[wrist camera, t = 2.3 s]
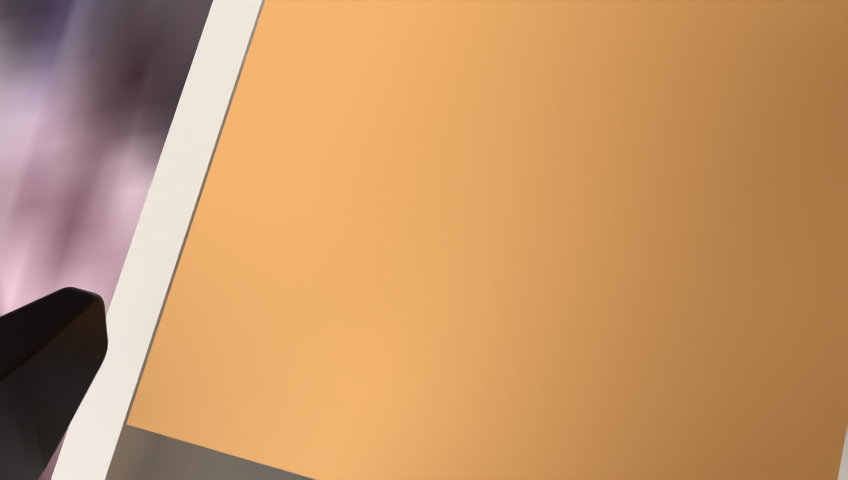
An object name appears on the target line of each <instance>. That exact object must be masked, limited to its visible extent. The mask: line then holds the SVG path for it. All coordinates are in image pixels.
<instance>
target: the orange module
mask: <svg viewBox="0 0 848 480" xmlns="http://www.w3.org/2000/svg"><path fill="white" fill-rule="evenodd" d="M127 425H130V426H134V427H137V428H141V429H144V430H148V431H151V432H154V433H158V434H161V435H165V436H168V437H172V438H175V439H179V440H182V441H185V442H189V443H192V444H196V445H199V446H203V447H206V448H210V449H213V450H216V451H220V452H223V453H227V454H230V455H234V456H237V457H240V458H244V459H247V460H251V461H254V462H258V463H261V464H265V465H268V466H271V467H275V468H278V469H282V470H285V471H289V472H292V473H296V474H299V475H302V476H306V477H309V478H313V479H316V480H838V475H839V469H840V464H841V458H842V453H843V448H844V442H845V437H846V431H847V426H848V0H265V2H264V6H263V9H262V12H261V15H260V18H259V21H258V24H257V27H256V30H255V33H254V36H253V39H252V42H251V45H250V48H249V51H248V54H247V57H246V60H245V64H244V67H243V70H242V73H241V76H240V79H239V82H238V85H237V88H236V91H235V94H234V97H233V100H232V103H231V106H230V109H229V112H228V115H227V118H226V122H225V125H224V128H223V131H222V134H221V137H220V140H219V143H218V146H217V149H216V152H215V155H214V158H213V161H212V164H211V167H210V170H209V173H208V176H207V180H206V183H205V186H204V189H203V192H202V195H201V198H200V201H199V204H198V207H197V210H196V213H195V216H194V219H193V222H192V225H191V228H190V231H189V234H188V238H187V241H186V244H185V247H184V250H183V253H182V256H181V259H180V262H179V265H178V268H177V271H176V274H175V277H174V280H173V283H172V286H171V289H170V292H169V295H168V299H167V302H166V305H165V308H164V311H163V314H162V317H161V320H160V323H159V326H158V329H157V332H156V335H155V338H154V341H153V344H152V347H151V350H150V353H149V357H148V360H147V363H146V366H145V369H144V372H143V375H142V378H141V381H140V384H139V387H138V390H137V393H136V396H135V399H134V402H133V405H132V408H131V411H130V415H129V418H128V421H127Z"/></svg>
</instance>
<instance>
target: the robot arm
mask: <svg viewBox="0 0 848 480" xmlns="http://www.w3.org/2000/svg"><path fill="white" fill-rule="evenodd" d="M107 349H108V334H107V325H106V315H105V305H104V301H103V299H102V297H101V296H100V295H98V294H96V293H92V292H89V291H85V290H82V289H78V288H74V287H66V288H62V289H60V290H58V291H55V292H53V293H51V294H49V295H47V296H44V297H42V298H40V299H38V300H36V301H34V302H31V303H29V304H27V305H25V306H23V307H21V308H18V309H16V310H14V311H12V312H10V313H7V314H5V315H3V316H1V317H0V480H38V479H39V478H40V476H41V474H42V473H43V471H44V470H45V468H46V466H47V465H48V463H49V461H50V459H51V458H52V456H53V454H54V452H55V451H56V449H57V447H58V445H59V443H60V441H61V439H62V438H63V436H64V434H65V432H66V430H67V428H68V426H69V425H70V423H71V421H72V419H73V417H74V415H75V413H76V412H77V410H78V408H79V406H80V404H81V402H82V400H83V399H84V397H85V395H86V393H87V391H88V389H89V387H90V386H91V384H92V382H93V380H94V378H95V376H96V374H97V373H98V371H99V369H100V367H101V365H102V363H103V361H104V359H105V356H106V353H107Z"/></svg>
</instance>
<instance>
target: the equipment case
mask: <svg viewBox="0 0 848 480" xmlns="http://www.w3.org/2000/svg"><path fill="white" fill-rule="evenodd" d="M264 2H265V0H213V3H212V6H211V9H210V12H209V15H208V18H207V21H206V24H205V27H204V30H203V33H202V36H201V39H200V42H199V45H198V48H197V51H196V54H195V57H194V59H193V62H192V65H191V68H190V71H189V74H188V77H187V80H186V83H185V86H184V89H183V92H182V95H181V98H180V101H179V104H178V107H177V110H176V113H175V116H174V118H173V121H172V124H171V127H170V130H169V133H168V136H167V139H166V142H165V145H164V148H163V151H162V154H161V157H160V160H159V163H158V166H157V169H156V172H155V175H154V178H153V180H152V183H151V186H150V189H149V192H148V195H147V198H146V201H145V204H144V207H143V210H142V213H141V216H140V219H139V222H138V225H137V228H136V231H135V234H134V237H133V240H132V242H131V245H130V248H129V251H128V254H127V257H126V260H125V263H124V266H123V269H122V272H121V275H120V278H119V281H118V284H117V287H116V290H115V293H114V296H113V299H112V302H111V304H110V307H109V310H108V313H107V316H106V325H107V334H108V349H107V353H106V356H105V359H104V361H103V363H102V365H101V367H100V369H99V371H98V373H97V374H96V376H95V378H94V380H93V382H92V384H91V386H90V387H89V389H88V391H87V393H86V395H85V397H84V399H83V400H82V402H81V404H80V406H79V408H78V410H77V412H76V413H75V415H74V417H73V419H72V421H71V423H70V425H69V428H68V431H67V434H66V437H65V440H64V443H63V446H62V449H61V452H60V455H59V458H58V461H57V464H56V467H55V470H54V473H53V476H52V479H51V480H316V479H313V478H309V477H306V476H302V475H299V474H296V473H292V472H289V471H285V470H282V469H278V468H275V467H271V466H268V465H265V464H261V463H258V462H254V461H251V460H247V459H244V458H240V457H237V456H234V455H230V454H227V453H223V452H220V451H216V450H213V449H210V448H206V447H203V446H199V445H196V444H192V443H189V442H185V441H182V440H179V439H175V438H172V437H168V436H165V435H161V434H158V433H154V432H151V431H148V430H144V429H141V428H137V427H134V426H130V425H127V421H128V418H129V415H130V411H131V408H132V405H133V402H134V399H135V396H136V393H137V390H138V387H139V384H140V381H141V378H142V375H143V372H144V369H145V366H146V363H147V360H148V357H149V353H150V350H151V347H152V344H153V341H154V338H155V335H156V332H157V329H158V326H159V323H160V320H161V317H162V314H163V311H164V308H165V305H166V302H167V299H168V295H169V292H170V289H171V286H172V283H173V280H174V277H175V274H176V271H177V268H178V265H179V262H180V259H181V256H182V253H183V250H184V247H185V244H186V241H187V238H188V234H189V231H190V228H191V225H192V222H193V219H194V216H195V213H196V210H197V207H198V204H199V201H200V198H201V195H202V192H203V189H204V186H205V183H206V180H207V176H208V173H209V170H210V167H211V164H212V161H213V158H214V155H215V152H216V149H217V146H218V143H219V140H220V137H221V134H222V131H223V128H224V125H225V122H226V118H227V115H228V112H229V109H230V106H231V103H232V100H233V97H234V94H235V91H236V88H237V85H238V82H239V79H240V76H241V73H242V70H243V67H244V64H245V60H246V57H247V54H248V51H249V48H250V45H251V42H252V39H253V36H254V33H255V30H256V27H257V24H258V21H259V18H260V15H261V12H262V9H263V6H264ZM838 480H848V426H847V431H846V437H845V442H844V448H843V453H842V458H841V464H840V469H839V475H838Z"/></svg>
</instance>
